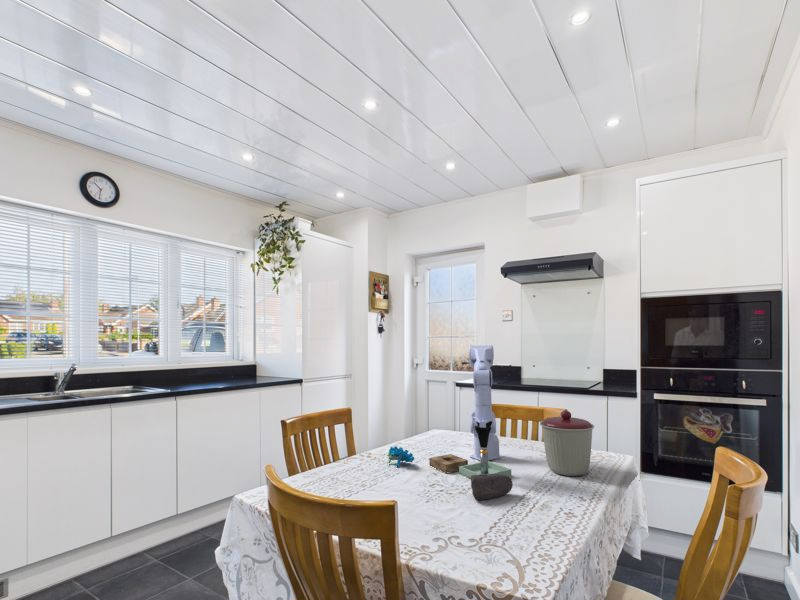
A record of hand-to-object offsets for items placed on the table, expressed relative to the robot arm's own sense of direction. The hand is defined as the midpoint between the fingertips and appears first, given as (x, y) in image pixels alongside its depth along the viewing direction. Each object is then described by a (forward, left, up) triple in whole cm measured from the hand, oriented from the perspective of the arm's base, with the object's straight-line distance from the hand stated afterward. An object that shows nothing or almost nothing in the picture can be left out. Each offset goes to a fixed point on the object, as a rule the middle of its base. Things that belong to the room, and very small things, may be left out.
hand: (484, 444), depth 150 cm
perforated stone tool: (+12, +16, -11) cm, 23 cm away
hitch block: (+5, -14, -10) cm, 18 cm away
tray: (0, 0, -10) cm, 10 cm away
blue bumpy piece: (+18, -27, -11) cm, 34 cm away
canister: (-27, +13, -11) cm, 32 cm away
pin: (0, 0, -10) cm, 10 cm away
